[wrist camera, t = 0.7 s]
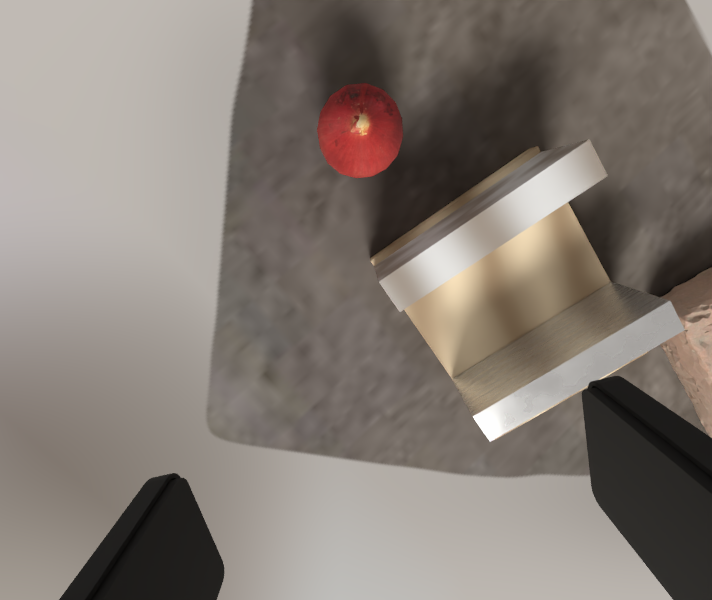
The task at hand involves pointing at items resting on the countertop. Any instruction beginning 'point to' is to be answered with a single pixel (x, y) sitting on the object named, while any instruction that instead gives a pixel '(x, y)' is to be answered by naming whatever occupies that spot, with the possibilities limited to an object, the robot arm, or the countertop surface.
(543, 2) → the countertop surface
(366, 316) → the countertop surface
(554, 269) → the vise base
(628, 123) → the countertop surface
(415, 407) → the countertop surface
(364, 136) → the onion
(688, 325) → the brick
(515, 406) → the vise jaw
